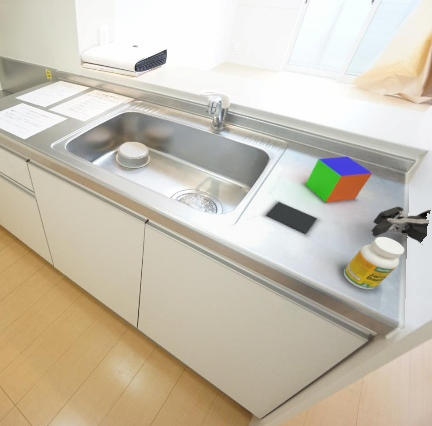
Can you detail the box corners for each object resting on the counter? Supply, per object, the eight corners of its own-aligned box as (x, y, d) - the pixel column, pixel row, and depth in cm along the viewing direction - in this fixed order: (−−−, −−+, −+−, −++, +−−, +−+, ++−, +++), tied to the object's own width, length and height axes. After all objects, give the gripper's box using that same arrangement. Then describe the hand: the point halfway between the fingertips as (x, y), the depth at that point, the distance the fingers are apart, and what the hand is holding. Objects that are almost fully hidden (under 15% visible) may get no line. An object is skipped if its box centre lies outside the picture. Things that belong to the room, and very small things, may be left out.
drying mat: (316, 219, 67) (317, 218, 66) (305, 234, 63) (306, 233, 63) (278, 202, 72) (278, 201, 71) (265, 215, 68) (266, 214, 68)
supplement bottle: (360, 265, 56) (390, 232, 50) (383, 288, 52) (419, 254, 46) (335, 269, 56) (362, 235, 49) (357, 292, 52) (389, 258, 45)
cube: (332, 181, 78) (347, 156, 73) (354, 199, 72) (372, 173, 67) (305, 184, 77) (318, 159, 72) (325, 202, 71) (341, 176, 66)
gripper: (421, 188, 59) (371, 209, 54) (517, 231, 49) (465, 261, 44) (398, 215, 64) (351, 236, 59) (481, 259, 54) (431, 289, 49)
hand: (400, 247), depth 52 cm, fingers open, 8 cm apart
